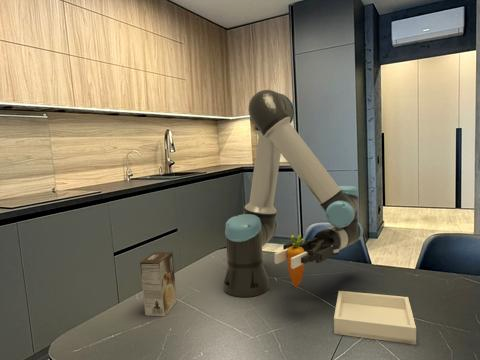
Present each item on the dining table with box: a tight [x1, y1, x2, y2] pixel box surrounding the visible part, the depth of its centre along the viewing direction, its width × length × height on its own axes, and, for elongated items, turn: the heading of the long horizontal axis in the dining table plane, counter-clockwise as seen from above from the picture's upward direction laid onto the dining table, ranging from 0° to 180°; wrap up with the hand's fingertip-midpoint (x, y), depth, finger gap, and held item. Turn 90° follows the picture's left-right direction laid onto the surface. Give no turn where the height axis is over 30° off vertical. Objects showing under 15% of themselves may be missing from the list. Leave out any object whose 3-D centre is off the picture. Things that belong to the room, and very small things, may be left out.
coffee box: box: [139, 251, 178, 317], centre depth 102 cm, size 9×6×16 cm
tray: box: [333, 290, 417, 346], centre depth 89 cm, size 18×16×4 cm
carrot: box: [286, 234, 305, 289], centre depth 94 cm, size 5×5×15 cm
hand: (283, 261), depth 90 cm, fingers closed on carrot, 5 cm apart
